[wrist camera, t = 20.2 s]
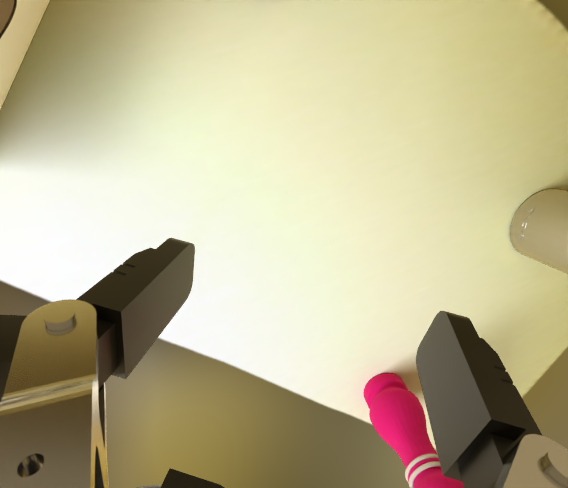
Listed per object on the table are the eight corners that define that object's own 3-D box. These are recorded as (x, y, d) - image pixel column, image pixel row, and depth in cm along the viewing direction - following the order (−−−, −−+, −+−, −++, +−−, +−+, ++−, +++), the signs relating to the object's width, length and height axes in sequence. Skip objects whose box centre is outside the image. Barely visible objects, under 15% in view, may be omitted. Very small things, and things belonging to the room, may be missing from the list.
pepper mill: (408, 367, 47) (515, 521, 28) (404, 405, 49) (500, 572, 30) (360, 372, 46) (437, 534, 27) (359, 410, 48) (428, 584, 30)
